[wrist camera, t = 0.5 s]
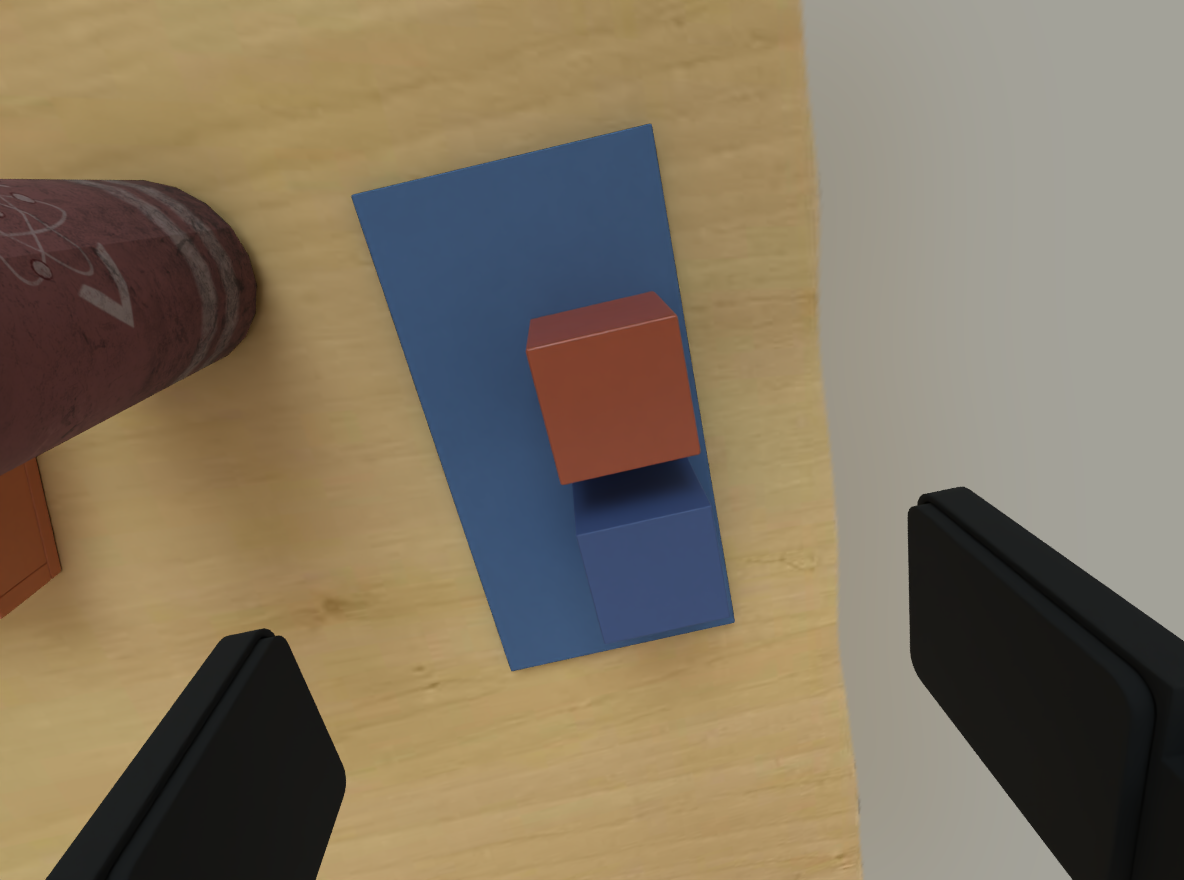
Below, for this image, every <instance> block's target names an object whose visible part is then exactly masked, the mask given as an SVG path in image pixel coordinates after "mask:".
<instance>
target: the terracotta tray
mask: <svg viewBox="0 0 1184 880" xmlns="http://www.w3.org/2000/svg"><path fill="white" fill-rule="evenodd" d="M60 572H61V567H60V562H59V558H58V554H57V549H56V545H55V540H54V536H53V532H52V527H51V523H50V519H49V514H48V510H47V505H46V501H45V497H44V492H43V488H42V484H41V479H40V475H39V470H38V466H37V462H36V457H35V458H33V459H31V460H29V461H27V462H25V463H23V464H22V465H20V466H18V467H16V468H14V469H12V470H10V471H8V472H6V473H5V474H3V475H1V476H0V619H2V618H3V617H5V616H6V615H7V614H9V613H10V612H11V611H12V610H14V609H15V608H16V607H17V606H19V605H20V604H21V603H22V602H24V601H25V600H26V599H27V598H29V597H30V596H31V595H32V594H34V593H35V592H36V591H37V590H39V589H40V588H41V587H43V586H44V585H45V584H46V583H48V582H49V581H50V580H51V579H52V578H54V577H55V576H56V575H57V574H59V573H60Z"/></svg>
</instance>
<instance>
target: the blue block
mask: <svg viewBox="0 0 1184 880" xmlns="http://www.w3.org/2000/svg"><path fill="white" fill-rule="evenodd" d="M572 488H573V502H574V516H575V530H576V539H577V542H578V546H579V550H580V554H581V558H582V561H583V565H584V569H585V573H586V577H587V580H588V584H589V588H590V592H591V596H592V599H593V603H594V607H595V611H596V615H597V618H598V622H599V626H600V630H601V633H602V637H603V641H604V644H610V643H615V642H619V641H624V640H628V639H633V638H637V637H642V636H647V635H651V634H656V633H660V632H665V631H669V630H674V629H679V628H683V627H688V626H692V625H697V624H701V623H706V622H711V621H715V620H720V619H724V618H729V617H730V611H729V605H728V599H727V593H726V588H725V582H724V576H723V570H722V564H721V558H720V552H719V546H718V540H717V535H716V529H715V523H714V517H713V511H712V506H711V504H710V502H709V500H708V498H707V496H706V494H705V492H704V490H703V488H702V486H701V484H700V482H699V480H698V478H697V476H696V474H695V472H694V470H693V468H692V466H691V464H690V462H689V460H688V458H687V457H686V458H681V459H677V460H672V461H668V462H663V463H659V464H655V465H650V466H646V467H641V468H637V469H632V470H628V471H624V472H619V473H615V474H610V475H606V476H601V477H597V478H593V479H588V480H584V481H579V482H575V483H572Z"/></svg>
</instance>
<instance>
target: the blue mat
mask: <svg viewBox="0 0 1184 880" xmlns="http://www.w3.org/2000/svg"><path fill="white" fill-rule="evenodd" d="M352 200H353V203H354V206H355V209H356V212H357V215H358V218H359V221H360V224H361V227H362V230H363V233H364V236H365V239H366V242H367V245H368V248H369V251H370V254H371V257H372V260H373V262H374V265H375V268H376V271H377V274H378V277H379V280H380V283H381V286H382V289H383V292H384V295H385V298H386V301H387V304H388V307H389V310H390V313H391V316H392V319H393V322H394V325H395V328H396V331H397V334H398V337H399V340H400V343H401V346H402V348H403V351H404V354H405V357H406V360H407V363H408V366H409V369H410V372H411V375H412V378H413V381H414V384H415V387H416V390H417V393H418V396H419V399H420V402H421V405H422V408H423V411H424V414H425V417H426V420H427V423H428V426H429V429H430V431H431V434H432V437H433V440H434V443H435V446H436V449H437V452H438V455H439V458H440V461H441V464H442V467H443V470H444V473H445V476H446V479H447V482H448V485H449V488H450V491H451V494H452V497H453V500H454V503H455V506H456V509H457V512H458V515H459V517H460V520H461V523H462V526H463V529H464V532H465V535H466V538H467V541H468V544H469V547H470V550H471V553H472V556H473V559H474V562H475V565H476V568H477V571H478V574H479V577H480V580H481V583H482V586H483V589H484V592H485V595H486V598H487V601H488V603H489V606H490V609H491V612H492V615H493V618H494V621H495V624H496V627H497V630H498V633H499V636H500V639H501V642H502V645H503V648H504V651H505V654H506V657H507V660H508V663H509V666H510V669H511V671H515V670H520V669H525V668H529V667H534V666H538V665H543V664H547V663H552V662H557V661H561V660H566V659H570V658H575V657H579V656H584V655H589V654H593V653H598V652H602V651H607V650H611V649H616V648H621V647H625V646H630V645H634V644H639V643H643V642H648V641H653V640H657V639H662V638H666V637H671V636H675V635H680V634H685V633H689V632H694V631H698V630H703V629H708V628H712V627H717V626H721V625H726V624H730V623H734V622H735V619H734V613H733V607H732V601H731V595H730V589H729V583H728V577H727V571H726V565H725V559H724V553H723V548H722V542H721V536H720V530H719V524H718V518H717V512H716V506H715V500H714V494H713V488H712V482H711V476H710V470H709V464H708V458H707V452H706V446H705V440H704V434H703V428H702V422H701V416H700V410H699V404H698V398H697V392H696V386H695V380H694V374H693V368H692V362H691V356H690V350H689V344H688V338H687V332H686V326H685V320H684V314H683V308H682V302H681V296H680V290H679V284H678V278H677V272H676V266H675V260H674V254H673V249H672V243H671V237H670V231H669V225H668V219H667V213H666V207H665V201H664V195H663V189H662V183H661V177H660V171H659V165H658V159H657V153H656V147H655V141H654V135H653V129H652V125H651V124H646V125H642V126H638V127H634V128H630V129H626V130H621V131H617V132H613V133H609V134H605V135H600V136H596V137H592V138H588V139H584V140H580V141H575V142H571V143H567V144H563V145H559V146H554V147H550V148H546V149H542V150H538V151H534V152H529V153H525V154H521V155H517V156H513V157H508V158H504V159H500V160H496V161H492V162H488V163H483V164H479V165H475V166H471V167H467V168H462V169H458V170H454V171H450V172H446V173H442V174H437V175H433V176H429V177H425V178H421V179H416V180H412V181H408V182H404V183H400V184H396V185H391V186H387V187H383V188H379V189H375V190H371V191H366V192H362V193H358V194H354V195H352ZM651 291H654V292H655V293H656V294H657V295H658V296H659V297H660V298H661V299H662V300H663V301H664V302H665V303H666V304H667V305H668V306H669V307H670V308H671V309H672V311H673V312H674V313H675V314H676V315H677V316H678V322H679V327H680V333H681V339H682V345H683V351H684V357H685V363H686V368H687V374H688V380H689V386H690V392H691V398H692V403H693V409H694V415H695V421H696V427H697V433H698V439H699V444H700V450H701V452H700V454H699V455H695V456H690V457H687V458H688V460H689V462H690V464H691V466H692V468H693V470H694V472H695V474H696V476H697V478H698V480H699V482H700V484H701V486H702V488H703V490H704V492H705V494H706V496H707V498H708V500H709V502H710V504H711V506H712V511H713V517H714V523H715V529H716V535H717V540H718V546H719V552H720V558H721V564H722V570H723V576H724V582H725V588H726V593H727V599H728V605H729V611H730V617H729V618H724V619H720V620H715V621H711V622H706V623H701V624H697V625H692V626H688V627H683V628H679V629H674V630H669V631H665V632H660V633H656V634H651V635H647V636H642V637H637V638H633V639H628V640H624V641H619V642H615V643H610V644H604V641H603V637H602V633H601V630H600V626H599V622H598V618H597V615H596V611H595V607H594V603H593V599H592V596H591V592H590V588H589V584H588V580H587V577H586V573H585V569H584V565H583V561H582V558H581V554H580V550H579V546H578V542H577V539H576V530H575V516H574V502H573V488H572V483H570V484H566V485H562V484H561V483H560V480H559V476H558V472H557V469H556V465H555V461H554V457H553V453H552V450H551V446H550V442H549V438H548V435H547V431H546V427H545V423H544V420H543V416H542V412H541V408H540V404H539V401H538V397H537V393H536V389H535V386H534V382H533V378H532V374H531V370H530V367H529V363H528V359H527V355H526V345H527V339H528V332H529V325H530V320H531V319H534V318H539V317H543V316H547V315H552V314H556V313H560V312H565V311H569V310H573V309H577V308H582V307H586V306H590V305H595V304H599V303H603V302H608V301H612V300H616V299H620V298H625V297H629V296H633V295H638V294H642V293H646V292H651Z"/></svg>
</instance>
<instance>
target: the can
mask: <svg viewBox="0 0 1184 880" xmlns="http://www.w3.org/2000/svg"><path fill="white" fill-rule="evenodd" d="M256 288H257V284H256V281H255V277H254V274H253V270H252V266H251V263H250V259H249V256H248V254H247V252H246V251H245V249H244V247H243V246H242V244H241V243H240V241H239V239H238V238H237V236H236V234H235V233H234V231H233V230H232V228H231V227H230V226H229V225H228V224H227V223H226V222H225V221H224V220H223V219H222V218H221V217H220V216H219V215H217V214H216V213H215V212H214V211H213V210H212V209H211V208H210V207H209V206H208V205H207V204H206V203H204V202H202V201H200V200H198V199H196V198H194V197H193V196H191V195H189V194H187V193H185V192H183V191H182V190H180V189H178V188H176V187H171V186H167V185H162V184H158V183H153V182H149V181H144V180H50V179H0V476H1V475H3V474H5V473H6V472H8V471H10V470H12V469H14V468H16V467H18V466H20V465H22V464H23V463H25V462H27V461H29V460H31V459H33V458H35V457H37V456H38V455H40V454H42V453H44V452H46V451H48V450H50V449H52V448H54V447H55V446H57V445H59V444H61V443H63V442H65V441H67V440H69V439H71V438H72V437H74V436H76V435H78V434H80V433H82V432H84V431H86V430H88V429H89V428H91V427H93V426H95V425H97V424H99V423H101V422H103V421H105V420H106V419H108V418H110V417H112V416H114V415H116V414H118V413H120V412H122V411H123V410H125V409H127V408H129V407H131V406H133V405H135V404H137V403H138V402H140V401H142V400H144V399H146V398H148V397H150V396H152V395H154V394H155V393H157V392H159V391H161V390H163V389H165V388H167V387H169V386H171V385H172V384H174V383H176V382H178V381H180V380H182V379H184V378H186V377H188V376H189V375H191V374H193V373H195V372H197V371H199V370H201V369H203V368H205V367H206V366H208V365H210V364H212V363H214V362H216V361H218V360H220V359H222V358H223V357H225V356H227V355H228V354H229V353H230V352H231V351H232V350H233V349H234V348H235V347H236V346H237V345H238V344H239V343H240V342H241V341H242V340H243V339H244V338H245V337H246V334H247V332H248V330H249V327H250V325H251V322H252V320H253V318H254V315H255V312H256Z"/></svg>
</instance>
